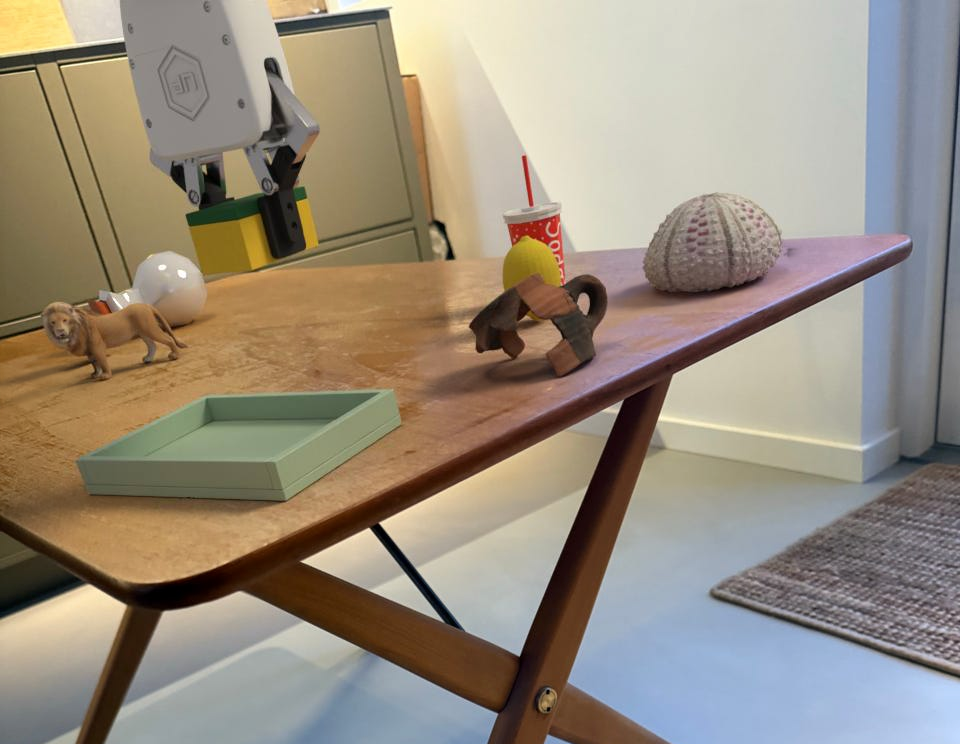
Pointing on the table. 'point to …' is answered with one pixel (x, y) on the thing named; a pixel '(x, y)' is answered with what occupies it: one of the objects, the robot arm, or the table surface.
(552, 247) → the beverage cup
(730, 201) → the sea urchin shell
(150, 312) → the lion figurine
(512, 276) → the lemon
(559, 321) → the brown piece
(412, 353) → the table surface
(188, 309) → the potion bottle
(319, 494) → the table surface
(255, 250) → the sponge
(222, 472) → the tray
